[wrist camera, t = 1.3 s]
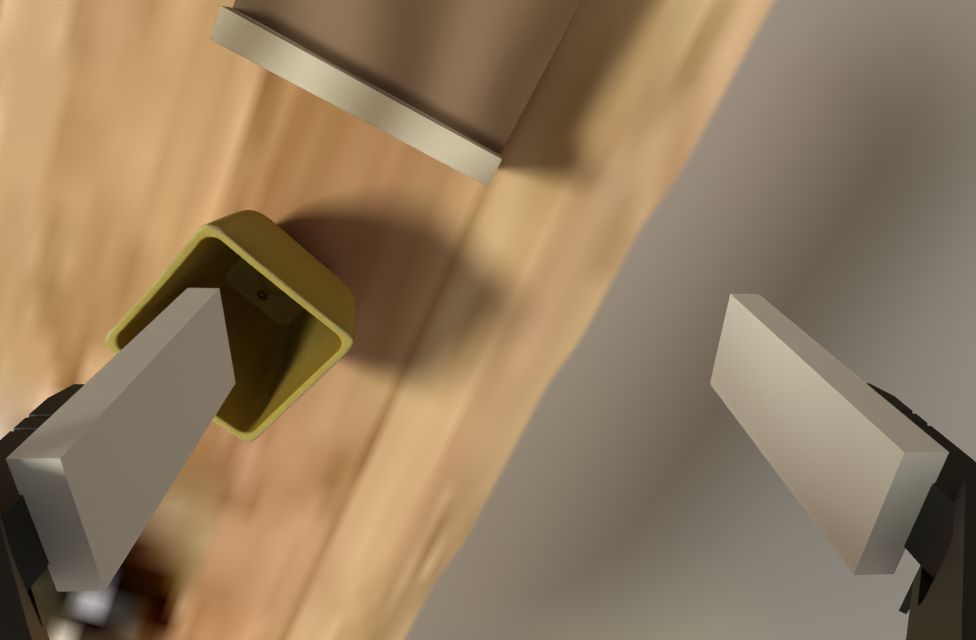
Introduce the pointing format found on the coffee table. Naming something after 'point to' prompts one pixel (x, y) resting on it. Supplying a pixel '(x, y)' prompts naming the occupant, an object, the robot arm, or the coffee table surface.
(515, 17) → the display stand
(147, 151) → the coffee table surface
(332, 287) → the flower pot
